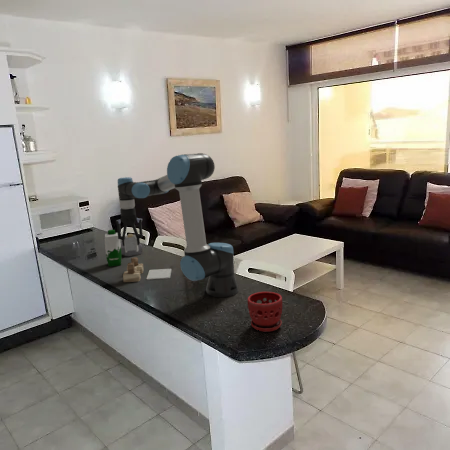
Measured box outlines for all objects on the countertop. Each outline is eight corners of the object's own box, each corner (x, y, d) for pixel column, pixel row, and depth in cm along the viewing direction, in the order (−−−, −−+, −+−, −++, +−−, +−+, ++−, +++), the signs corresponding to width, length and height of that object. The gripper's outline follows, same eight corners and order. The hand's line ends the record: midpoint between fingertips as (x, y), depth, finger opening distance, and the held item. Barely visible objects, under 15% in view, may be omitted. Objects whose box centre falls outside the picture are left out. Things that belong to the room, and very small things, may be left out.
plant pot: (281, 318, 162) (280, 290, 159) (284, 334, 149) (283, 303, 146) (248, 318, 162) (247, 290, 160) (248, 334, 150) (247, 304, 147)
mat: (169, 278, 212) (169, 277, 212) (146, 279, 211) (146, 278, 211) (171, 269, 225) (171, 268, 225) (149, 270, 225) (149, 269, 224)
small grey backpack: (146, 253, 258) (135, 247, 275) (144, 241, 256) (133, 235, 273) (122, 258, 250) (112, 251, 267) (121, 245, 248) (111, 239, 265)
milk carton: (122, 261, 244) (119, 228, 240) (122, 265, 236) (119, 232, 231) (107, 262, 242) (103, 230, 238) (107, 267, 233) (103, 233, 229)
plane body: (139, 281, 209) (137, 264, 207) (123, 282, 209) (122, 265, 207) (143, 270, 226) (142, 254, 224) (128, 271, 225) (127, 255, 223)
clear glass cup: (135, 250, 211) (134, 235, 209) (126, 250, 211) (124, 236, 209) (137, 247, 217) (136, 233, 215) (127, 247, 217) (126, 233, 215)
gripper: (146, 205, 213) (150, 248, 218) (111, 207, 212) (115, 250, 217) (144, 208, 206) (148, 252, 211) (108, 210, 205) (113, 254, 210)
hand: (131, 251), depth 214 cm, fingers closed on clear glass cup, 5 cm apart
